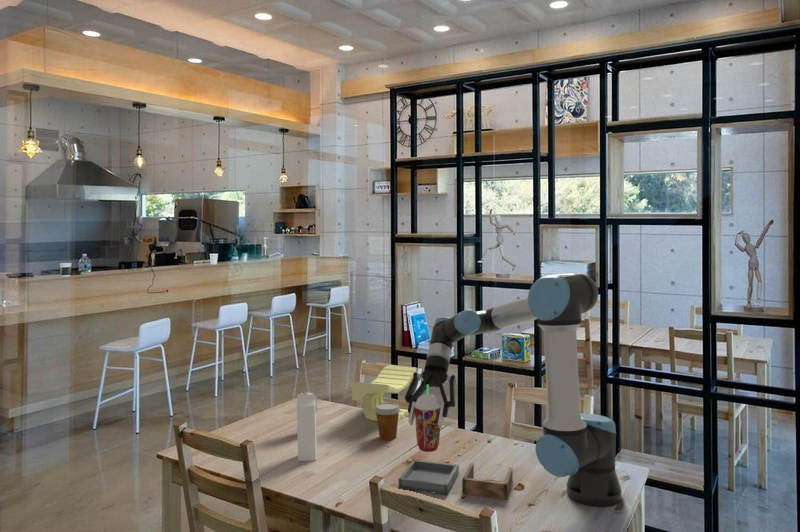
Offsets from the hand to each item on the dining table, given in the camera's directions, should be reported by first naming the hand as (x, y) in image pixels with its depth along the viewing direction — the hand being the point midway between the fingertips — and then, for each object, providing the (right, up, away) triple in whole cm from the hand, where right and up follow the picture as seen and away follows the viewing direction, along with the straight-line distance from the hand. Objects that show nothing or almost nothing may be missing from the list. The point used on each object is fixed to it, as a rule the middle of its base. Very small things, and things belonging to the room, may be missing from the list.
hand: (424, 424), depth 173 cm
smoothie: (+1, -9, +4) cm, 10 cm away
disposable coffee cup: (-12, -17, +42) cm, 47 cm away
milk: (-39, -18, +24) cm, 49 cm away
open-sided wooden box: (+19, -19, -1) cm, 27 cm away
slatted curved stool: (-13, -15, +67) cm, 70 cm away
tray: (+2, -18, +4) cm, 19 cm away
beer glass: (-43, -17, +48) cm, 66 cm away
